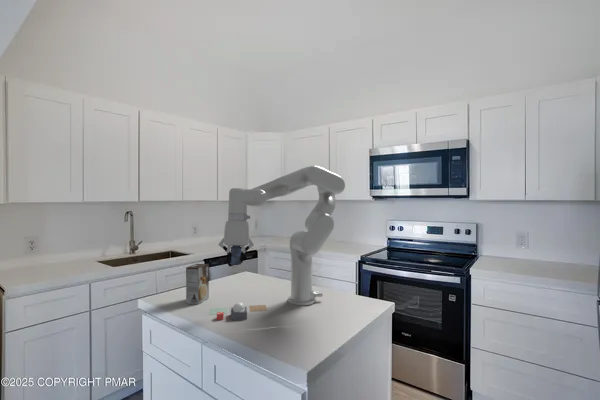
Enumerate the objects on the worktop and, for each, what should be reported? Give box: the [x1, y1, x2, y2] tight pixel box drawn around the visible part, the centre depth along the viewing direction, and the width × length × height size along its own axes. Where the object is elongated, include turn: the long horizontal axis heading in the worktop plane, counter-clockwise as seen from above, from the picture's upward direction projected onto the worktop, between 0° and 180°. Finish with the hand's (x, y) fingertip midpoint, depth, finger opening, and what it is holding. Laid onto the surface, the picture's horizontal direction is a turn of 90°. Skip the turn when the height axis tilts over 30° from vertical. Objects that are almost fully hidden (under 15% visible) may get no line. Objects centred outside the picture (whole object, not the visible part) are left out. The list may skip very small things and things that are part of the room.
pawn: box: [229, 246, 242, 266], centre depth 125 cm, size 4×4×9 cm
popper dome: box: [232, 301, 245, 313], centre depth 118 cm, size 4×4×5 cm
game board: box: [208, 304, 268, 321], centre depth 122 cm, size 23×14×3 cm, turn 102°
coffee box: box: [185, 263, 210, 305], centre depth 138 cm, size 9×6×16 cm
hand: (235, 261), depth 125 cm, fingers closed on pawn, 4 cm apart
